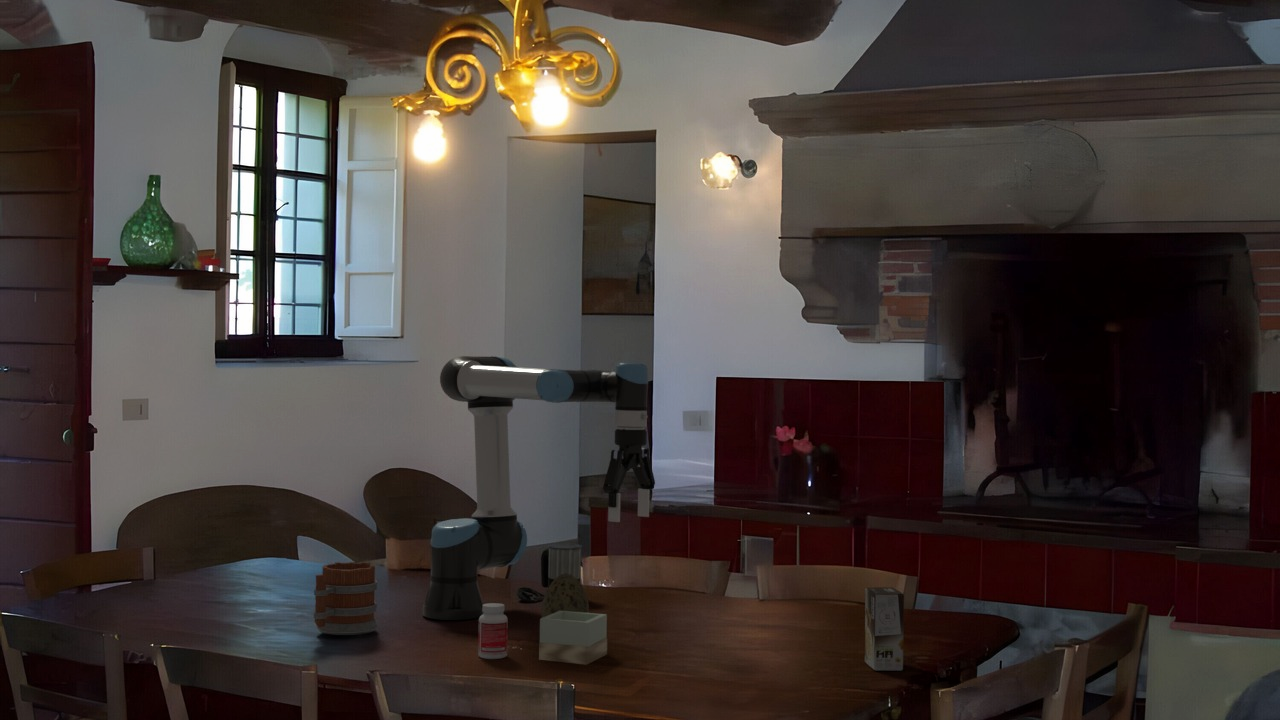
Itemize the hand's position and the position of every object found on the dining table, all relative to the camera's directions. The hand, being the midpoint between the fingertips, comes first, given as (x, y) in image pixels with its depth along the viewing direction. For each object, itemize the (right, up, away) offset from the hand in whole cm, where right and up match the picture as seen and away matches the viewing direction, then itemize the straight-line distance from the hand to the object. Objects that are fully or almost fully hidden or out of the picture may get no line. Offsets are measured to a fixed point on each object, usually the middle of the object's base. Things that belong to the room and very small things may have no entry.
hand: (628, 519), depth 314 cm
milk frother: (-21, -27, +40) cm, 53 cm away
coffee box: (+54, -28, -31) cm, 68 cm away
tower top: (-12, -23, -27) cm, 37 cm away
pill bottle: (-29, -26, -29) cm, 48 cm away
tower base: (-12, -27, -27) cm, 40 cm away
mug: (-67, -26, -4) cm, 72 cm away
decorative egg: (-15, -27, -9) cm, 32 cm away
